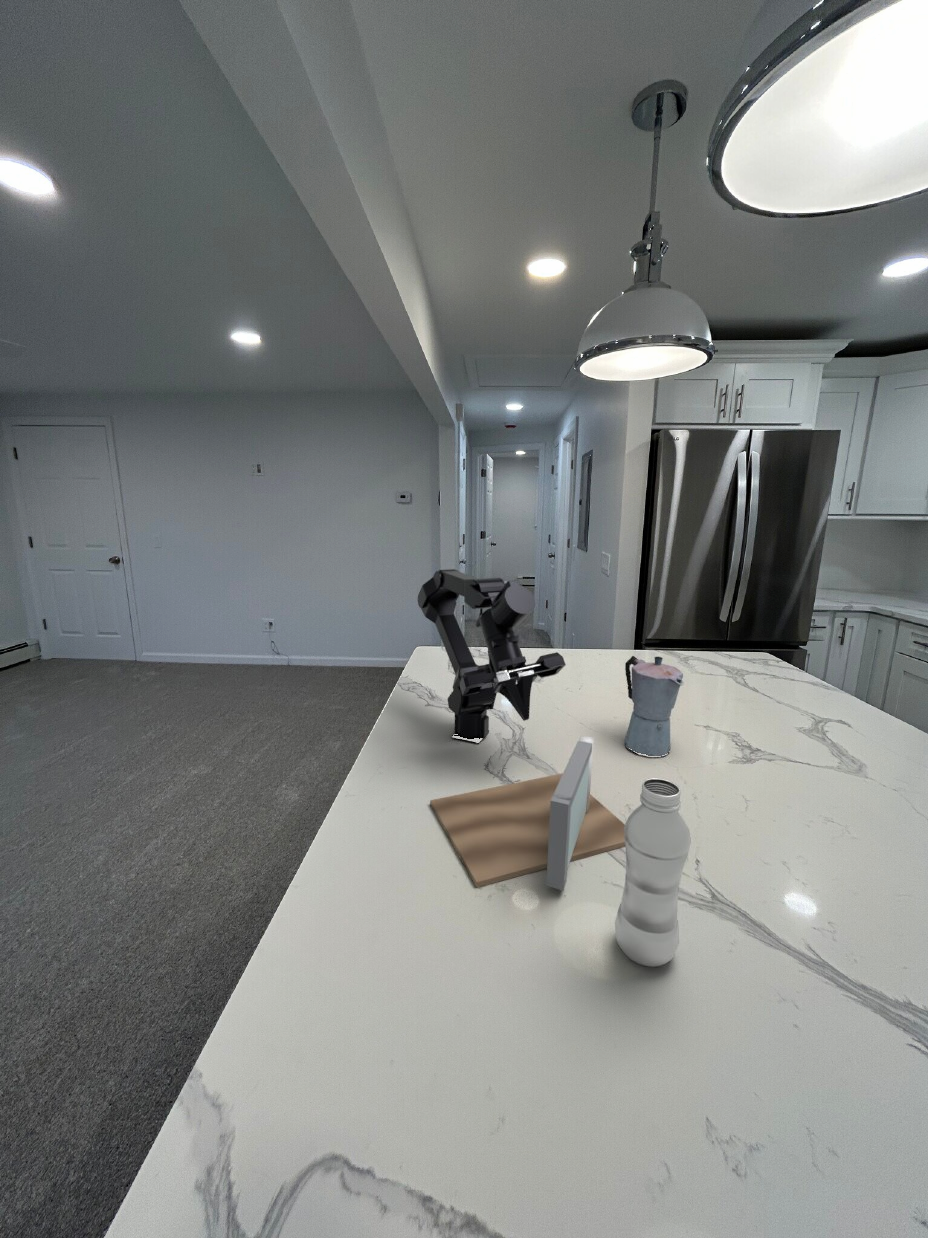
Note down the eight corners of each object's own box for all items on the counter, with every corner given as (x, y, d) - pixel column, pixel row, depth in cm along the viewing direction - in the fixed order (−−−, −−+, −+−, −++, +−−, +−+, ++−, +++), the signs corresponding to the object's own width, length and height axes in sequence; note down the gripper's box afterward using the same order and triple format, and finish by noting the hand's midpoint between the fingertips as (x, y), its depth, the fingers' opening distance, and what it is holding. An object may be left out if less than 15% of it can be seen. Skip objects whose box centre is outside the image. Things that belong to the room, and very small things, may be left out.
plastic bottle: (604, 928, 59) (617, 772, 54) (660, 925, 59) (676, 770, 55) (626, 979, 52) (642, 806, 48) (688, 974, 53) (710, 803, 49)
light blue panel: (576, 803, 82) (580, 735, 79) (589, 806, 81) (594, 737, 78) (546, 885, 64) (550, 800, 61) (563, 890, 63) (568, 804, 60)
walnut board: (430, 804, 83) (430, 800, 83) (565, 776, 92) (565, 772, 92) (476, 888, 65) (476, 882, 65) (639, 842, 74) (639, 837, 74)
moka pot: (658, 769, 95) (667, 668, 91) (601, 737, 108) (607, 648, 104) (692, 759, 99) (703, 661, 95) (633, 729, 113) (640, 643, 108)
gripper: (536, 644, 102) (561, 718, 97) (448, 663, 98) (469, 741, 93) (551, 622, 92) (580, 703, 87) (454, 642, 88) (477, 729, 82)
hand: (526, 720), depth 87 cm, fingers closed
